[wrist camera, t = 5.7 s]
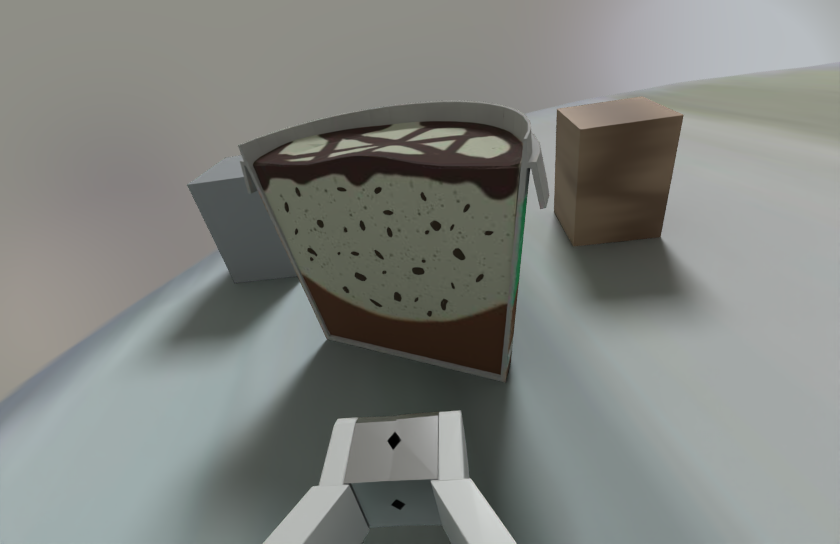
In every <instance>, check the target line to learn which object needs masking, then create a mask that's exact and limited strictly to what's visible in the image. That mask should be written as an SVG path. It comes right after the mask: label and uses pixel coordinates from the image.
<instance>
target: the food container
mask: <svg viewBox="0 0 840 544" xmlns="http://www.w3.org/2000/svg"><path fill="white" fill-rule="evenodd" d="M238 147H239V149H240V152H241V155H242V158H243V160H241V161H240V164H241V168H242V172H243V176H244V180H245V184H246V187H247V191H248V193H249V194H252V193H254V192H256V191H258V192H259V195H260V197H261V199H262V201H263V203H264V205H265V207H266V210H267V212H268V214H269V216H270V218H271V220H272V222H273V225H274V227H275V229H276V231H277V233H278V235H279V237H280V240H281V242H282V244H283V246H284V248H285V250H286V252H287V255H288V257H289V259H290V261H291V263H292V265H293V267H294V270H295V272H296V274H297V276H298V278H299V280H300V282H301V285H302V287H303V289H304V291H305V293H306V295H307V297H308V300H309V302H310V304H311V306H312V308H313V310H314V312H315V315H316V317H317V319H318V321H319V323H320V325H321V327H322V330H323V332H324V334H325V336H326V338H327V339H329V340H333V341H337V342H341V343H345V344H349V345H354V346H358V347H362V348H366V349H370V350H374V351H378V352H382V353H386V354H390V355H395V356H399V357H403V358H407V359H411V360H415V361H419V362H423V363H427V364H432V365H436V366H440V367H444V368H448V369H452V370H456V371H460V372H464V373H469V374H473V375H477V376H481V377H485V378H489V379H493V380H497V381H501V382H505V383H506V379H507V375H508V371H509V367H510V363H511V354H512V344H513V334H514V324H515V314H516V304H517V294H518V284H519V274H520V264H521V254H522V244H523V234H524V224H525V214H526V204H527V194H528V184H529V174H530V168H531V169H532V174H533V178H534V183H535V187H536V192H537V196H538V201H539V205H540V209H543V208H546V206H547V202H548V198H549V189H548V182H547V177H546V172H545V167H544V162H543V157H542V152H541V147H540V142H539V141H538V139H537V138H536V136H535V135H534V134H533V133H532V132H531V123H530V120H529V119H528V118H527V116H526V115H525V114H523V113H521V112H520V111H518V110H516V109H513V108H510V107H508V106H504V105H499V104H494V103H486V102H475V101H433V102H418V103H407V104H399V105H391V106H383V107H377V108H370V109H365V110H359V111H354V112H349V113H344V114H339V115H334V116H329V117H325V118H322V119H317V120H313V121H309V122H306V123H302V124H298V125H294V126H291V127H288V128H285V129H281V130H278V131H275V132H272V133H269V134H266V135H264V136H261V137H258V138H255V139H253V140H250V141H247V142H245V143H242V144H240V145H238Z"/></svg>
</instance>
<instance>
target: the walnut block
mask: <svg viewBox="0 0 840 544" xmlns="http://www.w3.org/2000/svg"><path fill="white" fill-rule="evenodd" d="M682 120H683V114H680V113H678V112H676V111H674V110H671V109H669V108H667V107H665V106H662V105H660V104H658V103H656V102H653V101H651V100H649V99H647V98H644V97H635V98H628V99H621V100H615V101H608V102H601V103H594V104H587V105H581V106H574V107H567V108H560V109H557V125H556V161H555V196H554V212H555V214H556V216H557V218H558V220H559V221H560V223H561V225H562V227H563V229H564V230H565V232H566V234H567V236H568V238H569V239H570V241H571V243H572V245H573V246H583V245H592V244H601V243H610V242H620V241H629V240H638V239H647V238H657V237H661V231H662V226H663V221H664V216H665V210H666V205H667V200H668V194H669V189H670V184H671V179H672V173H673V168H674V163H675V157H676V152H677V147H678V142H679V136H680V131H681V126H682Z"/></svg>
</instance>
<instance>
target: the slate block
mask: <svg viewBox="0 0 840 544" xmlns="http://www.w3.org/2000/svg"><path fill="white" fill-rule="evenodd" d="M241 160H243V158H242V155H241V156H235V157H227V158H224V159H223V160H221V161H220V162H219V163H217V164H216V165H215V166H213V167H212V168H210V169H209V170H207V171H206V172H204V173H203V174H202V175H200V176H199V177H197V178H196V179H195V180H193V181H192V182H190V183H189V184H187V186H188V188H189V190H190V191H191V194H192V195H193V198H194V200H195V202H196V204H197V206H198V208H199V210H200V212H201V215H202V216H203V219H204V221H205V223H206V225H207V227H208V229H209V231H210V233H211V235H212V237H213V239H214V241H215V243H216V245H217V248H218V250H219V252H220V254H221V256H222V258H223V260H224V262H225V264H226V266H227V268H228V270H229V272H230V274H231V276H232V278H233V281H234V283H241V282H250V281H259V280H269V279H278V278H287V277H297V274H296V272H295V270H294V267H293V265H292V263H291V261H290V259H289V257H288V255H287V252H286V250H285V248H284V246H283V244H282V242H281V240H280V237H279V235H278V233H277V231H276V229H275V227H274V225H273V222H272V220H271V218H270V216H269V214H268V212H267V210H266V207H265V205H264V203H263V201H262V199H261V197H260V195H259V192H258V191H256V192H254V193H252V194H249V193H248V191H247V187H246V184H245V180H244V176H243V172H242V168H241V164H240V161H241Z"/></svg>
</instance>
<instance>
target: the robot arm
mask: <svg viewBox="0 0 840 544" xmlns="http://www.w3.org/2000/svg"><path fill="white" fill-rule="evenodd" d="M413 525H442V527H443V529H444V531H445V533H446V535H447V536H448V538H449V540H450V542H451V544H517V543H516V542H515V540H514V539H513V537H512V536H511V535H510V533H509V532H508V530H507V529H506V527H505V526H504V525H503V523H502V522H501V520H500V519H499V518H498V516H497V515H496V513H495V512H494V510H493V509H492V508H491V506H490V505H489V503H488V502H487V500H486V499H485V498H484V496H483V495H482V493H481V492H480V491H479V489H478V488H477V486H476V485H475V483H474V482H473V481H472V479H469V466H468V456H467V447H466V439H465V432H464V425H463V419H462V413H461V410H459V411H447V412H439V411H438V412H427V413H415V414H403V415H398V416H380V417H357V418H341V419H337V421H336V423H335V424H334V427H333V431H332V435H331V439H330V443H329V447H328V451H327V455H326V459H325V462H324V466H323V470H322V474H321V478H320V482H319V486H312V487H311V488H310V490H309V491H308V492H307V493H306V494H305V495H304V497H303V498H302V499H301V500H300V501H299V502H298V503H297V505H296V506H295V507H294V508H293V509H292V510H291V512H290V513H289V514H288V515H287V516H286V517H285V518H284V520H283V521H282V522H281V523H280V524H279V525H278V527H277V528H276V529H275V530H274V531H273V532H272V533H271V535H270V536H269V537H268V538H267V539H266V540H265V542H264V543H263V544H362V542H363V541H364V539H365V537H366V536H367V534H368V532H369V531H370V530H369V528H376V527H391V526H413Z"/></svg>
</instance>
